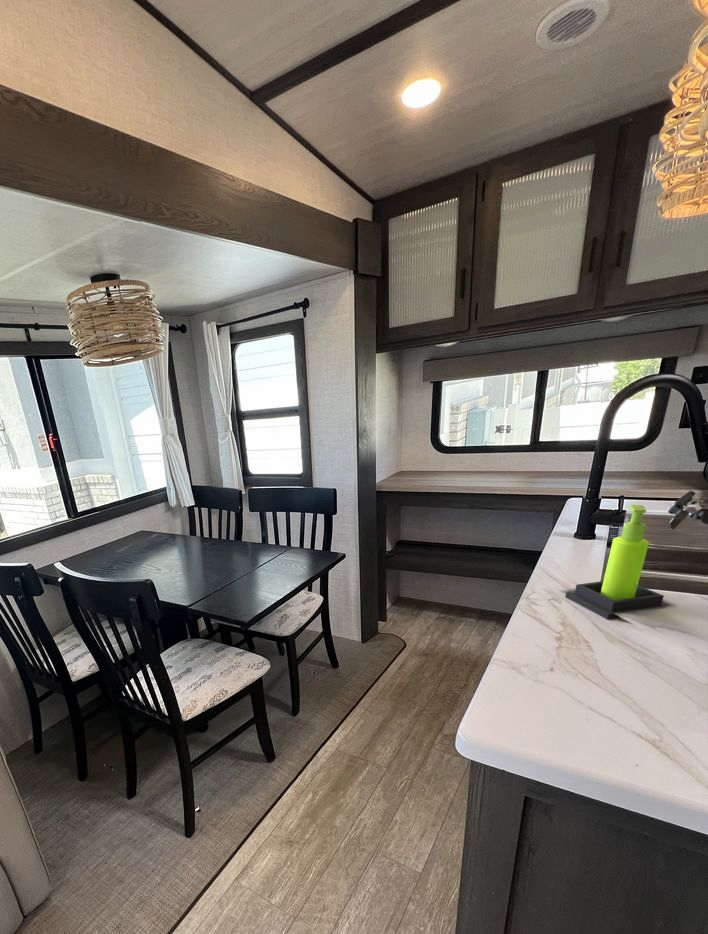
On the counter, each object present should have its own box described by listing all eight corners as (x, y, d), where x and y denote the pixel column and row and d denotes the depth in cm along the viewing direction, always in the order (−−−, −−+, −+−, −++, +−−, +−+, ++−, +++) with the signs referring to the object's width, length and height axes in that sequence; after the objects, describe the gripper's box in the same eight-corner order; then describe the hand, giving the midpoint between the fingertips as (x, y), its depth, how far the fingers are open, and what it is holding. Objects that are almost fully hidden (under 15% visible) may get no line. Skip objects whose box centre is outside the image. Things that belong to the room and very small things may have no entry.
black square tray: (621, 589, 108) (624, 576, 106) (669, 610, 97) (674, 596, 95) (565, 596, 106) (567, 583, 105) (607, 619, 95) (610, 605, 94)
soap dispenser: (628, 592, 103) (652, 503, 95) (636, 605, 97) (661, 511, 89) (596, 590, 105) (616, 502, 97) (602, 602, 100) (624, 510, 92)
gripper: (711, 466, 94) (671, 503, 89) (795, 501, 87) (757, 544, 81) (686, 495, 100) (647, 531, 95) (762, 530, 93) (726, 571, 87)
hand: (698, 537), depth 88 cm, fingers open, 8 cm apart
